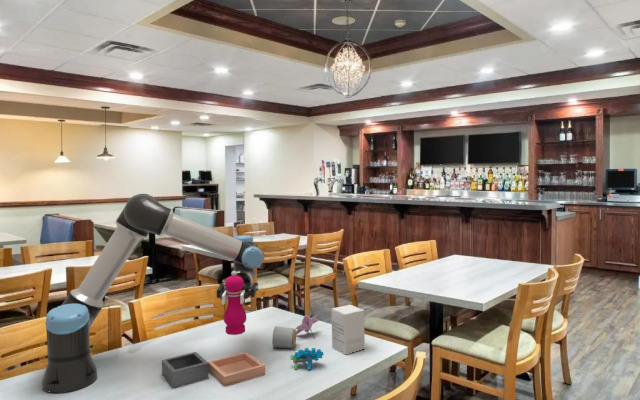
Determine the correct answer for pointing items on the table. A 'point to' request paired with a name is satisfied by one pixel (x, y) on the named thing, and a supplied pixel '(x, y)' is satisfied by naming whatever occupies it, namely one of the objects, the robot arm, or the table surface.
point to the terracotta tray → (236, 368)
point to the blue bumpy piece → (306, 356)
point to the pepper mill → (234, 306)
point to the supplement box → (348, 329)
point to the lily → (306, 324)
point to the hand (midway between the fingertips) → (232, 299)
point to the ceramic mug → (284, 337)
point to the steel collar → (185, 369)
